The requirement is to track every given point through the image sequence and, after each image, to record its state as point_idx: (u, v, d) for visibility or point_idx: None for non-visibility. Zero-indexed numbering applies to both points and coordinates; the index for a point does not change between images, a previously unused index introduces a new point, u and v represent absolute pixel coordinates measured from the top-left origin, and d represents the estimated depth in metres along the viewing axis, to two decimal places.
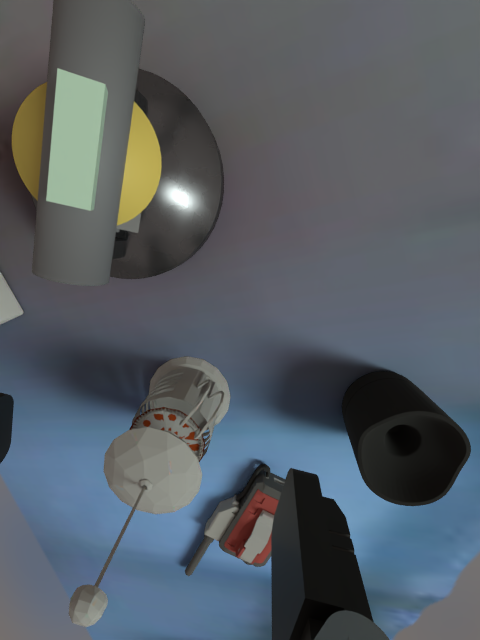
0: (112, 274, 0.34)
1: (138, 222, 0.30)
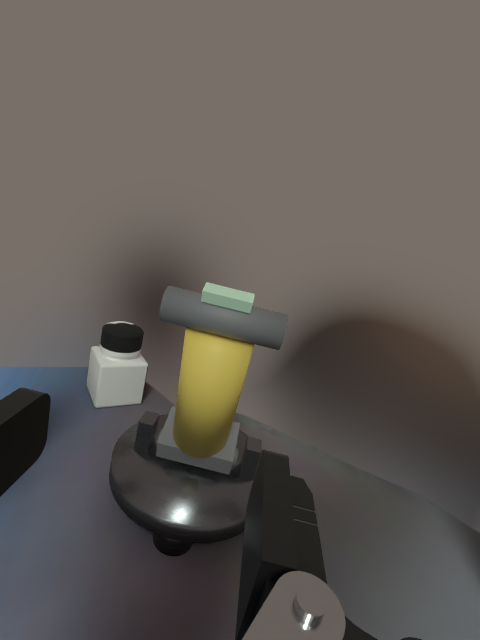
0: (119, 441, 0.40)
1: (165, 444, 0.36)
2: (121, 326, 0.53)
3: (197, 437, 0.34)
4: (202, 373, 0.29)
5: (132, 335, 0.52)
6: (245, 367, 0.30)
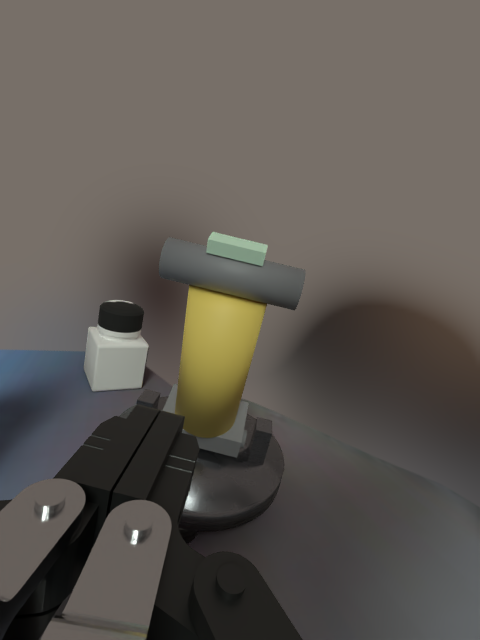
0: None
1: None
2: (120, 304, 0.50)
3: (201, 414, 0.30)
4: (207, 336, 0.26)
5: (132, 314, 0.49)
6: (256, 331, 0.27)
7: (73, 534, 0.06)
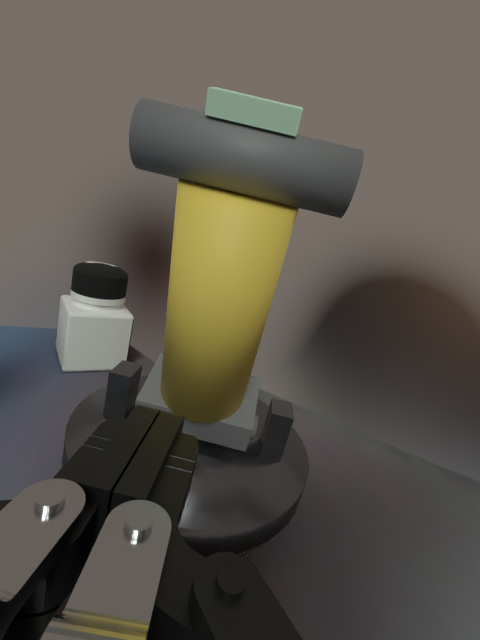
0: (83, 403, 0.27)
1: (148, 402, 0.23)
2: (98, 265, 0.41)
3: (197, 387, 0.21)
4: (206, 257, 0.16)
5: (113, 276, 0.39)
6: (281, 255, 0.18)
7: (73, 534, 0.06)
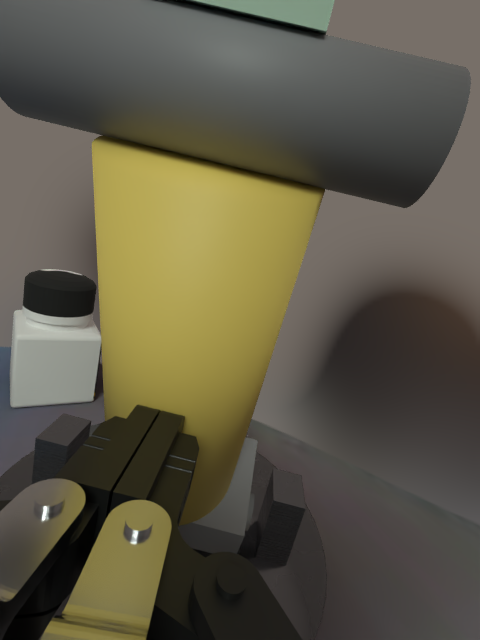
0: (6, 476, 0.19)
1: None
2: (57, 274, 0.33)
3: None
4: (145, 284, 0.08)
5: (73, 288, 0.31)
6: (291, 278, 0.10)
7: (73, 534, 0.06)
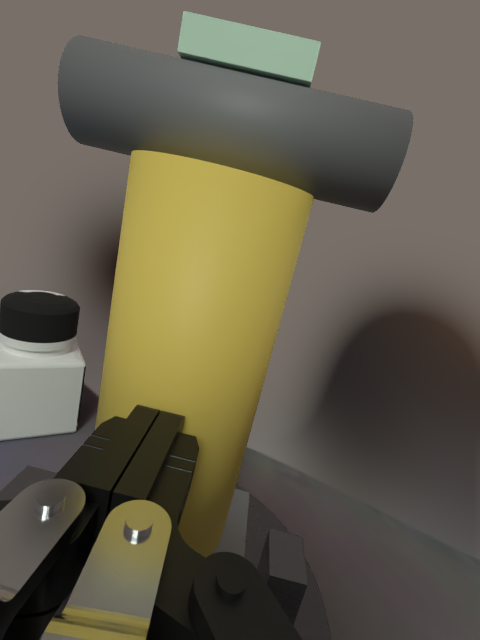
0: None
1: None
2: (36, 296, 0.30)
3: None
4: (169, 250, 0.10)
5: (53, 311, 0.29)
6: (290, 265, 0.11)
7: (73, 534, 0.06)
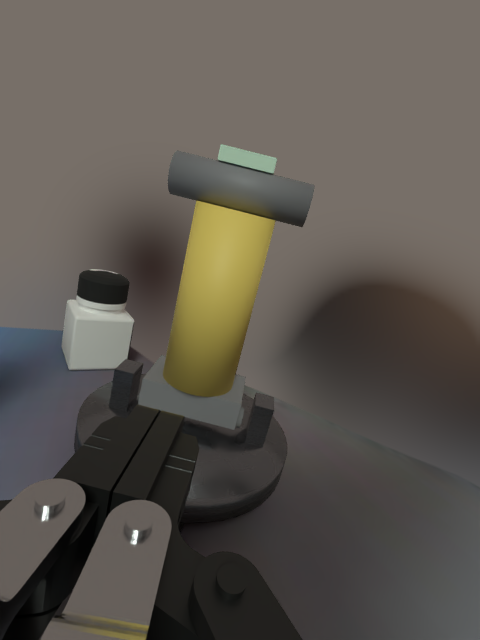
0: (91, 396, 0.31)
1: (153, 380, 0.28)
2: (102, 273, 0.44)
3: (198, 357, 0.26)
4: (214, 242, 0.24)
5: (115, 283, 0.43)
6: (264, 250, 0.26)
7: (73, 534, 0.06)
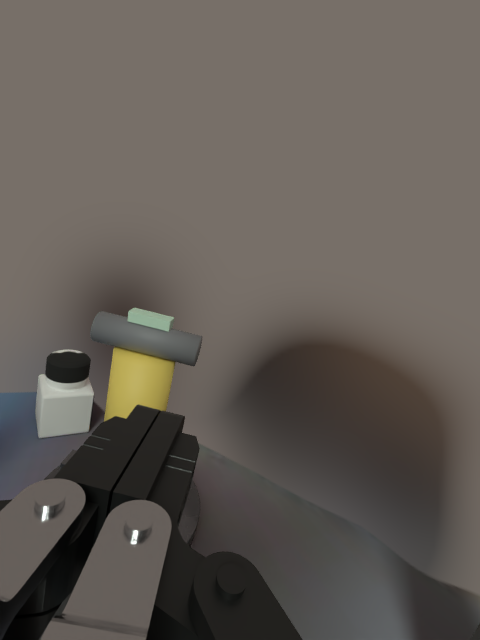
0: None
1: None
2: (66, 356, 0.53)
3: None
4: (124, 385, 0.33)
5: (76, 365, 0.52)
6: (165, 384, 0.34)
7: (73, 534, 0.06)
